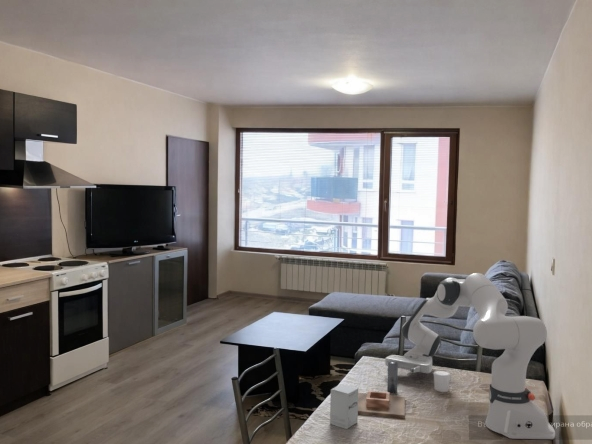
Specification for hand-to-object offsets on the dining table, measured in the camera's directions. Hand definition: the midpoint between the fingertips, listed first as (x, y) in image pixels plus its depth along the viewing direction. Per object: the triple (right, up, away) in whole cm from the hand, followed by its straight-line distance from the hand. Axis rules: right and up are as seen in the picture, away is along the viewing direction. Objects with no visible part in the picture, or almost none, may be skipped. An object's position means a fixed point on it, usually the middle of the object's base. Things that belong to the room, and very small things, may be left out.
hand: (402, 368), depth 229 cm
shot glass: (+15, -7, -6) cm, 18 cm away
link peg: (-6, -7, -9) cm, 13 cm away
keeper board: (-14, -8, -25) cm, 29 cm away
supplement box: (-29, -9, -40) cm, 50 cm away
